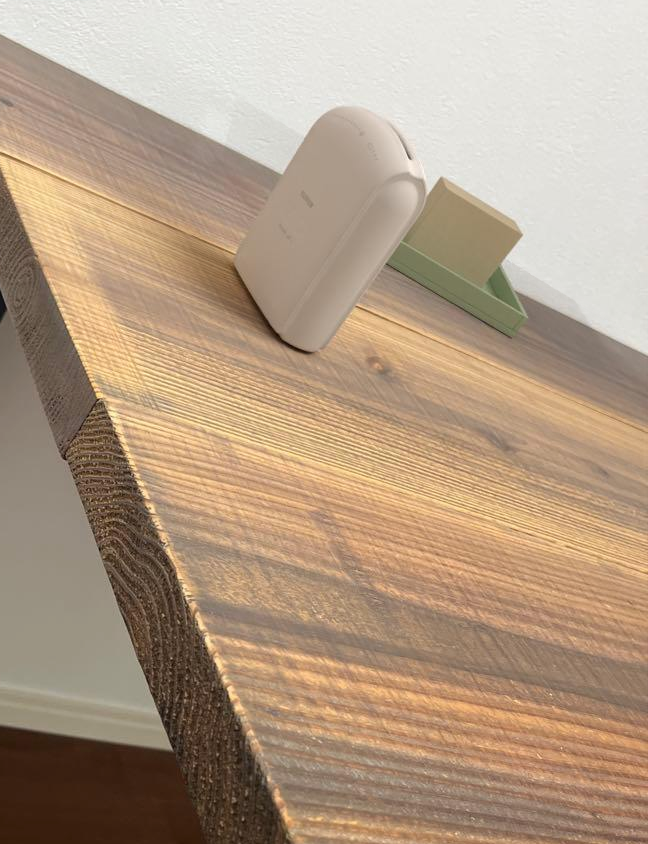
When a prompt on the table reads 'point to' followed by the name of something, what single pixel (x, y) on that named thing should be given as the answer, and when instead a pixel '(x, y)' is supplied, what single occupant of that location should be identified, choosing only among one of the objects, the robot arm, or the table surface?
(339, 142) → the photo printer
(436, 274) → the tray
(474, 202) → the block
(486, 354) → the table surface
